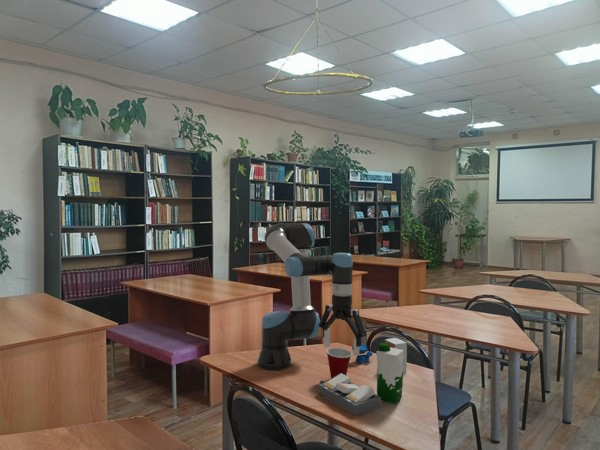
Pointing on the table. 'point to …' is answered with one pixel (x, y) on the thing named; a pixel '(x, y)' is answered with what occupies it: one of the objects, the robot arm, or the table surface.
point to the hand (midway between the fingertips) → (341, 350)
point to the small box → (399, 345)
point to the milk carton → (389, 373)
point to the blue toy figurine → (363, 350)
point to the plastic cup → (338, 361)
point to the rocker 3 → (360, 394)
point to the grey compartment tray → (346, 404)
